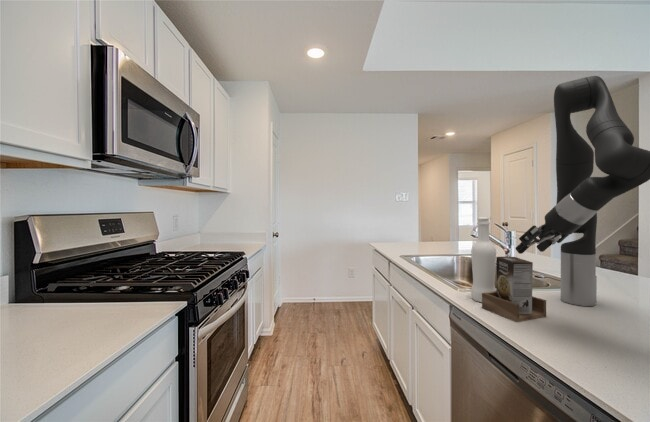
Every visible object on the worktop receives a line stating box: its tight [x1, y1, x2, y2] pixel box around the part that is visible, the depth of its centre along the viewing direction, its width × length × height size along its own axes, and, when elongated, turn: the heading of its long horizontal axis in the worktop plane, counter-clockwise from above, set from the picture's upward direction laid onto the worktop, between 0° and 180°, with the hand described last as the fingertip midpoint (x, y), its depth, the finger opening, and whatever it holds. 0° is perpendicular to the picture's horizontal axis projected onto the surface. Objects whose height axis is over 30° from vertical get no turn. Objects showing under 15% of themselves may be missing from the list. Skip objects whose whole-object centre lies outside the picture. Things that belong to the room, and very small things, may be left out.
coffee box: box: [495, 256, 534, 314], centre depth 94 cm, size 9×6×16 cm
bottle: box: [470, 216, 497, 304], centre depth 106 cm, size 8×8×30 cm
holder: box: [481, 291, 547, 323], centre depth 94 cm, size 12×12×5 cm
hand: (528, 250), depth 88 cm, fingers open, 8 cm apart
